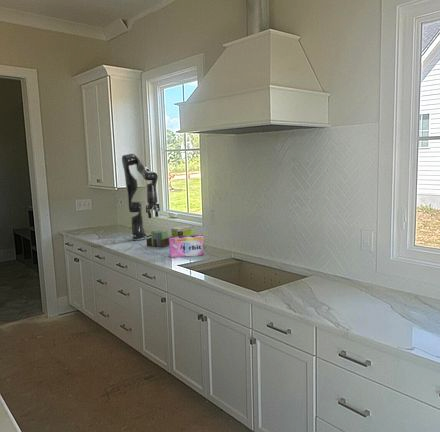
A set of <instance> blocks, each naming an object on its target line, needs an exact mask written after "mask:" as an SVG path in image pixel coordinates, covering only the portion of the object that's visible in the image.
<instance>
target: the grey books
mask: <svg viewBox="0 0 440 432" xmlns="http://www.w3.org/2000/svg"><path fill="white" fill-rule="evenodd" d="M162 231H163V230H160V232H157V233H156V243H157V247H156V248H162V242H161V232H162Z"/></svg>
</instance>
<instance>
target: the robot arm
mask: <svg viewBox="0 0 440 432" xmlns="http://www.w3.org/2000/svg"><path fill="white" fill-rule="evenodd" d="M121 164H122V168H123V173H124V180H125V181H124V182H125V187H126V193H127V205H128V206H127V207H128V211H129V212H130V213H137V214H135V215H134V216H131V217H130V219H131V220H130V221H131V233H132V236H131V237H132V241H143V240H145V239H146V238H150V237H151V234H149V235H147V234H146V232H145V228H144V220H143V219H144V218H143V203H142V201H133V198H134V196H135V194H136V193H137V191H138V189H139V184H138V179H137V178H136V176H135V175H134V174H133V173H132V172H131V169H130V166H134V165H135V166H136V171H137V172H138V173H139V174H140V175H142V177H143V179H144V180H145V181H147V182H148V181H150V183H147V184H146V200H147V201H146V202H147V204H146V205H145V213H147V217H148V219H152V212H153V211H154V216H155V218H158V217H159V212H160V211H161V209H160V208H161V207H160V203H158V192H157V183H158V179H159V178H158V177H159V174H158V172H157V171H154V170H152V171H151V170H150V168H148V167H147V166H146V165H145V164H144V163H143V162H142V161H141V159H140V158H138V156H137V155H136V154H135V153H128V154H123V155H122V156H121Z"/></svg>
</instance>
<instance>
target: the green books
mask: <svg viewBox="0 0 440 432" xmlns="http://www.w3.org/2000/svg"><path fill="white" fill-rule="evenodd" d="M157 232H161V230H160V229H154V230H151V231H150V235H151V236H150V238H152V246H154V239H156V233H157Z"/></svg>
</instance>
